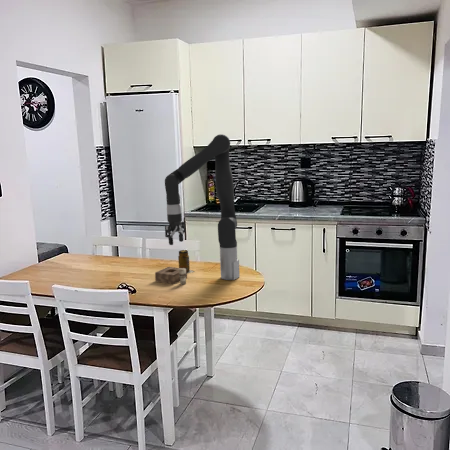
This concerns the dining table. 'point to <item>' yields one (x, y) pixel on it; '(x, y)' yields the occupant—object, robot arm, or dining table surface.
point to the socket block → (168, 275)
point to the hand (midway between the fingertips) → (176, 243)
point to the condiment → (184, 260)
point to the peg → (182, 276)
